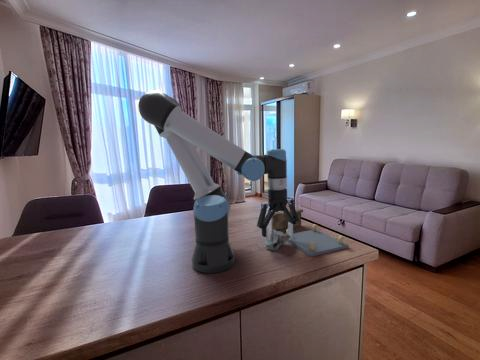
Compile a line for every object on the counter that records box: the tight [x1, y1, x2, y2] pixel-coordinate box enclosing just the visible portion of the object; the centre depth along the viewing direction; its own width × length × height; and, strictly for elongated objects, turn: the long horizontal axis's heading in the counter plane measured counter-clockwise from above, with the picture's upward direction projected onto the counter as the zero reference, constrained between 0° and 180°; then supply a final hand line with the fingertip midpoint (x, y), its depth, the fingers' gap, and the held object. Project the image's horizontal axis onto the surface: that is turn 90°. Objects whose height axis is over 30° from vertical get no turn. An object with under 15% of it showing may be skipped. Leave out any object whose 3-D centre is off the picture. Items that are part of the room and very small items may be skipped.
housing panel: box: [270, 208, 304, 231], centre depth 121 cm, size 16×3×8 cm, turn 112°
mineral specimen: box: [265, 229, 291, 252], centre depth 101 cm, size 10×8×10 cm
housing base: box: [285, 223, 349, 258], centre depth 104 cm, size 18×20×4 cm
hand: (278, 241), depth 102 cm, fingers open, 11 cm apart
